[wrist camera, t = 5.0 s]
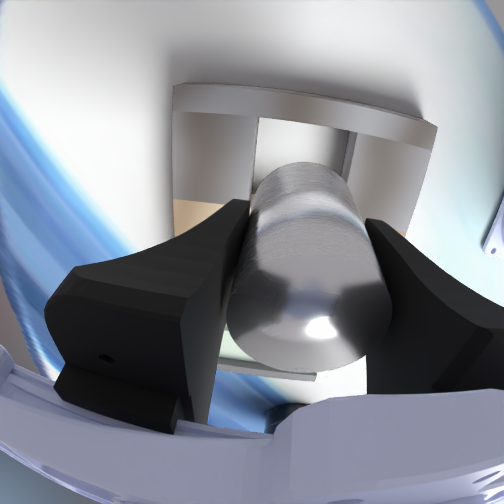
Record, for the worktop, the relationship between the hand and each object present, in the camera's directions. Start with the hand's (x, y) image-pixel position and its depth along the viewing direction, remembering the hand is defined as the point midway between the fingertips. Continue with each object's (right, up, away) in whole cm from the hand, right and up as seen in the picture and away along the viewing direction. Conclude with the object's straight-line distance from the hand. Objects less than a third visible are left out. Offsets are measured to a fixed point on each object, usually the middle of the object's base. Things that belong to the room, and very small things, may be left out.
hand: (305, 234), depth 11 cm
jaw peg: (0, +1, +1) cm, 2 cm away
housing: (0, 0, +10) cm, 10 cm away
